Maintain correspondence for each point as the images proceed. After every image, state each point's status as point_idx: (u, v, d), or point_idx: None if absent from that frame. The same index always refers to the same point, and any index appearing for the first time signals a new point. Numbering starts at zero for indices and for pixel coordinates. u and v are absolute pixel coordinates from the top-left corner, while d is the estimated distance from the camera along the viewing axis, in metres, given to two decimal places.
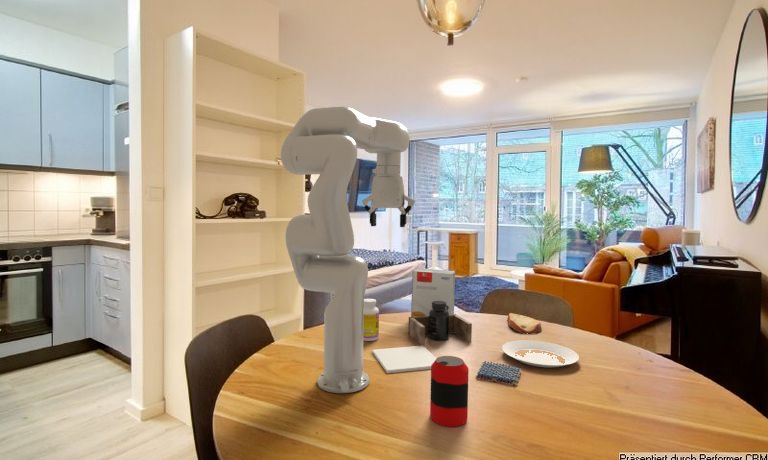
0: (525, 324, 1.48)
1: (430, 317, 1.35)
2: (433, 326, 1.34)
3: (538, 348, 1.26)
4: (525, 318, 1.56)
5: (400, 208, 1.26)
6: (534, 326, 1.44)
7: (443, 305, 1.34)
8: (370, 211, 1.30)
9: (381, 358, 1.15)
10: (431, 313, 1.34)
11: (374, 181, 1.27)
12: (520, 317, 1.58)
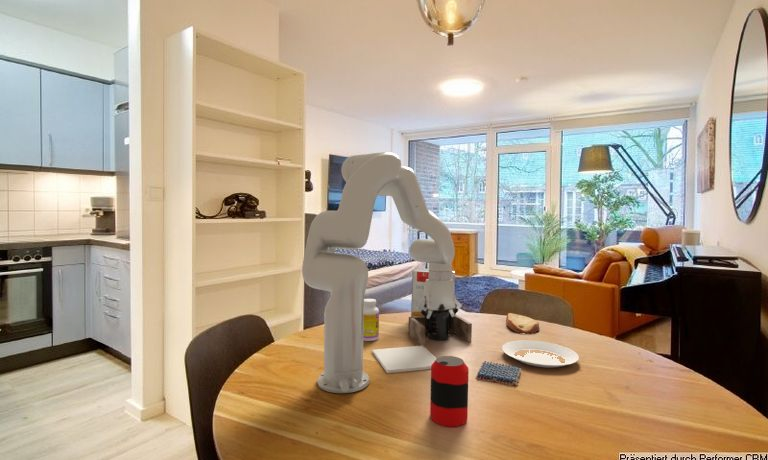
0: (523, 324, 1.48)
1: (430, 317, 1.35)
2: (433, 326, 1.34)
3: (538, 348, 1.26)
4: (524, 318, 1.56)
5: None
6: (532, 326, 1.44)
7: (443, 305, 1.34)
8: None
9: (381, 358, 1.15)
10: None
11: None
12: (519, 317, 1.58)
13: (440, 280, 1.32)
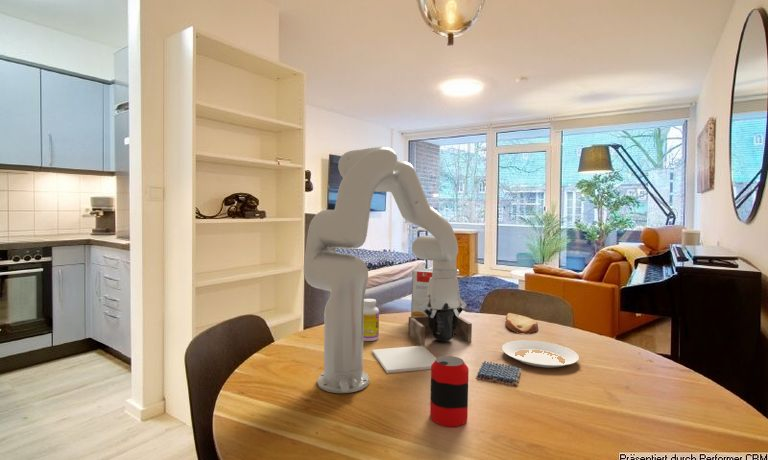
0: (521, 324, 1.48)
1: (434, 316, 1.31)
2: (437, 326, 1.30)
3: (538, 348, 1.26)
4: (523, 318, 1.56)
5: None
6: (530, 326, 1.44)
7: (447, 304, 1.30)
8: None
9: (381, 358, 1.15)
10: None
11: None
12: (518, 317, 1.58)
13: (445, 278, 1.28)
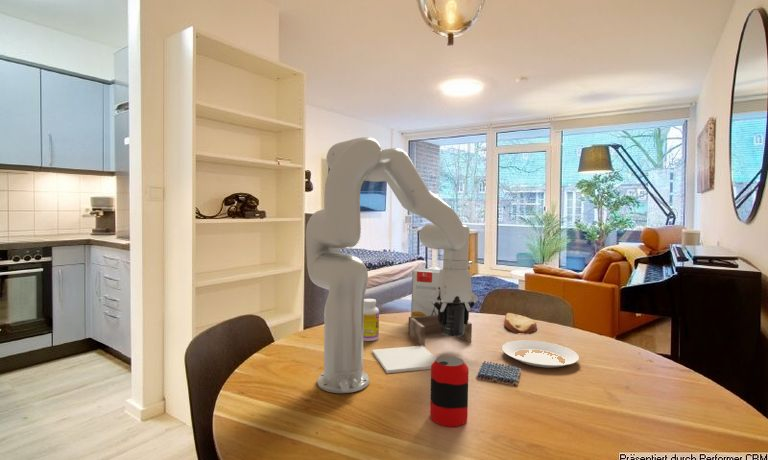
0: (520, 324, 1.48)
1: (444, 310, 1.22)
2: (447, 320, 1.21)
3: (538, 348, 1.26)
4: (522, 318, 1.56)
5: None
6: (528, 326, 1.44)
7: (458, 297, 1.22)
8: None
9: (381, 358, 1.15)
10: None
11: None
12: (517, 317, 1.58)
13: (456, 269, 1.20)
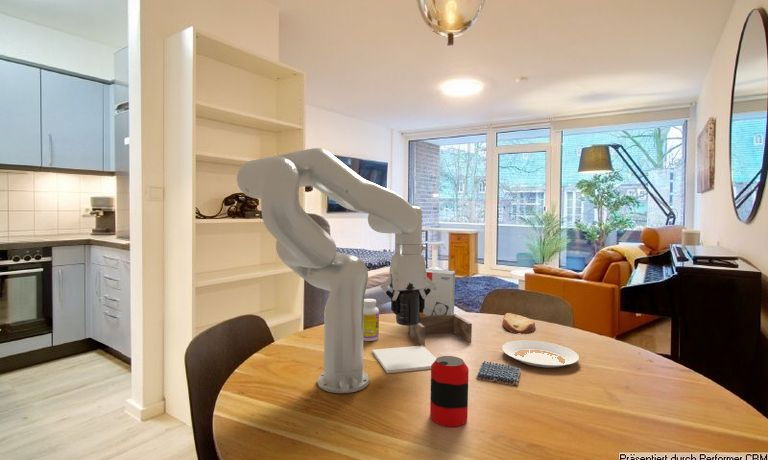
0: (518, 324, 1.48)
1: (397, 298, 1.14)
2: (400, 309, 1.13)
3: (538, 348, 1.26)
4: (521, 318, 1.56)
5: None
6: (526, 326, 1.44)
7: (412, 284, 1.13)
8: None
9: (381, 358, 1.15)
10: None
11: None
12: (516, 317, 1.58)
13: (408, 254, 1.11)
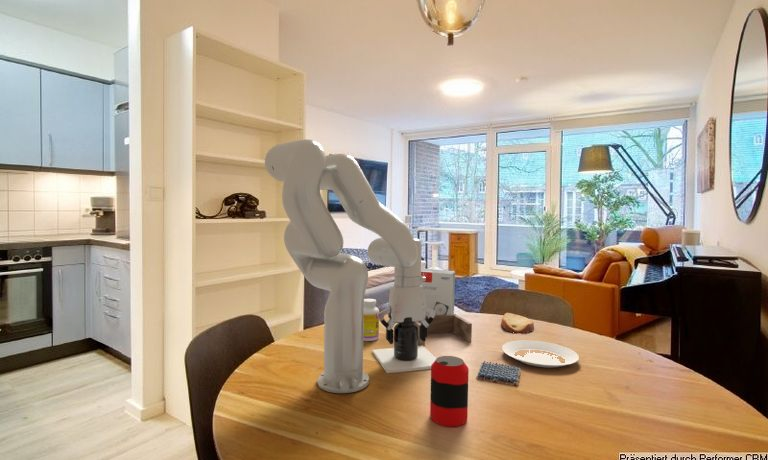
0: (517, 324, 1.48)
1: (395, 333, 1.14)
2: (398, 344, 1.13)
3: (538, 348, 1.26)
4: (520, 318, 1.56)
5: None
6: (524, 326, 1.45)
7: (410, 319, 1.13)
8: None
9: (381, 358, 1.15)
10: (396, 328, 1.14)
11: None
12: (516, 317, 1.58)
13: (407, 287, 1.11)
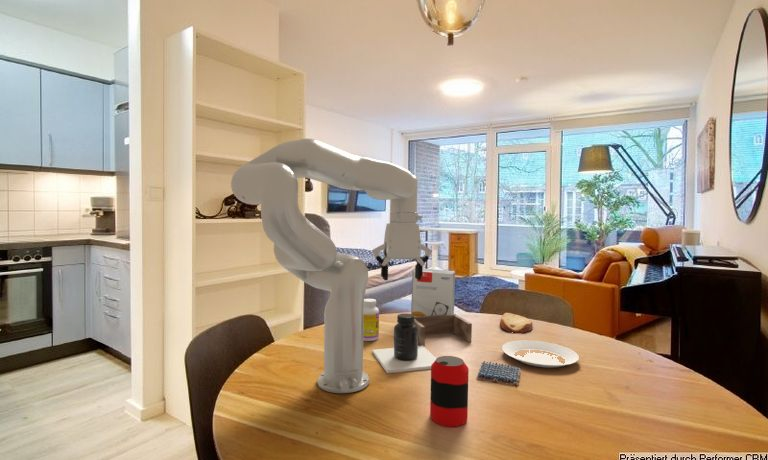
0: (515, 323, 1.48)
1: (395, 333, 1.14)
2: (398, 344, 1.13)
3: (538, 348, 1.26)
4: (519, 318, 1.56)
5: None
6: (523, 326, 1.45)
7: (410, 319, 1.13)
8: None
9: (381, 358, 1.15)
10: (396, 328, 1.14)
11: None
12: (515, 317, 1.58)
13: (402, 222, 1.11)
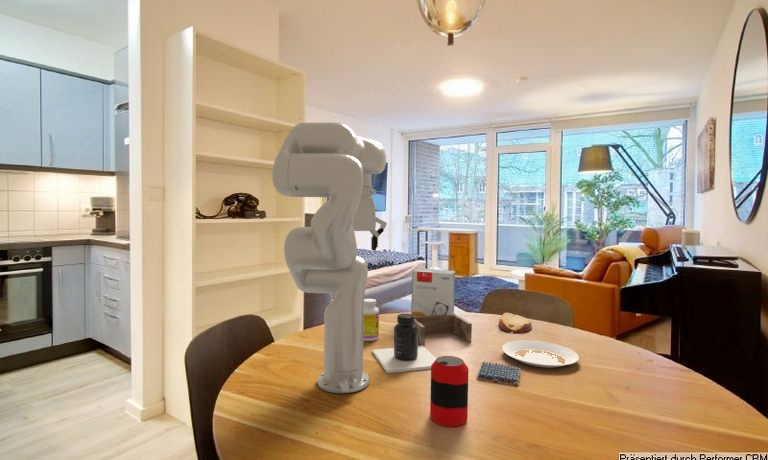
0: (514, 323, 1.48)
1: (395, 333, 1.14)
2: (398, 344, 1.13)
3: (538, 348, 1.26)
4: (519, 318, 1.56)
5: None
6: (521, 325, 1.45)
7: (410, 319, 1.13)
8: None
9: (381, 358, 1.15)
10: (396, 328, 1.14)
11: None
12: (514, 317, 1.58)
13: None
